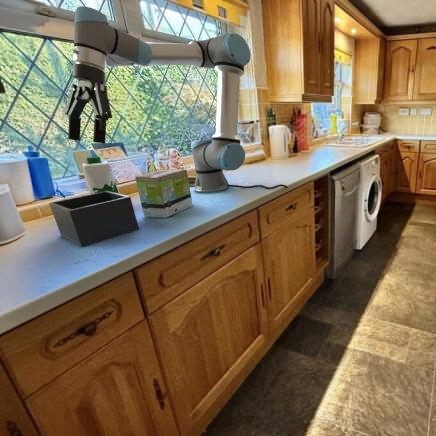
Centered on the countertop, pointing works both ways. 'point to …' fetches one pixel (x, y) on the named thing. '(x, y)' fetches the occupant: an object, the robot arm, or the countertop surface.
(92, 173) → the soya milk
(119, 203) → the waste bin
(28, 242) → the countertop surface
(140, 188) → the tea box
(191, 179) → the toy sandwich meal
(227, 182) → the robot arm
